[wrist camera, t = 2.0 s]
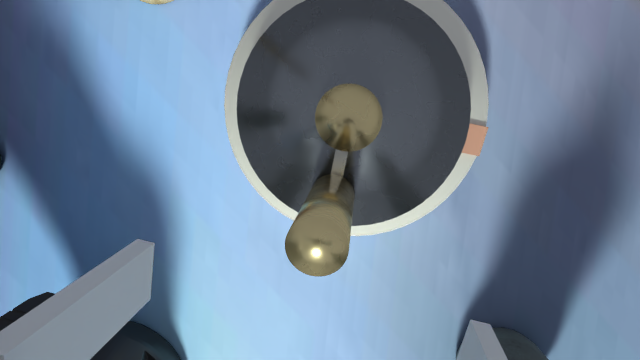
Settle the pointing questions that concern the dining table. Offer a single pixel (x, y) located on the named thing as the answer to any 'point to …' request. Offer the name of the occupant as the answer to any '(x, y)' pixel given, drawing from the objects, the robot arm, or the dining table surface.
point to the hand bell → (156, 1)
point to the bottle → (516, 345)
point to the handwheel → (351, 118)
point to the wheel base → (472, 61)
